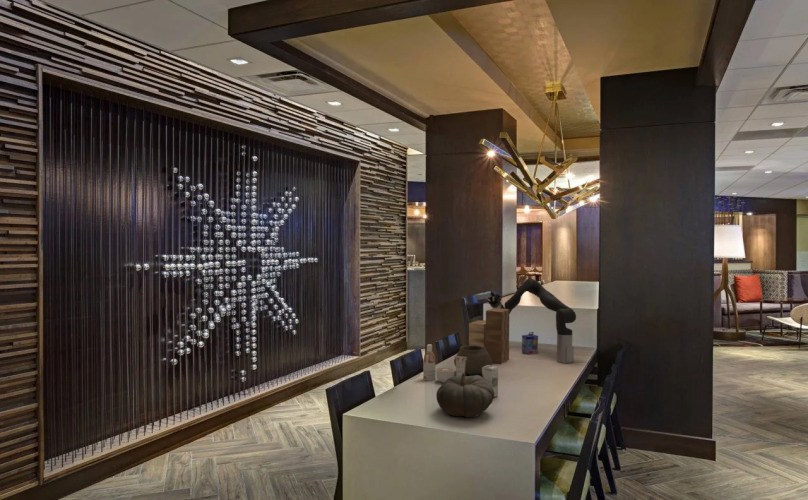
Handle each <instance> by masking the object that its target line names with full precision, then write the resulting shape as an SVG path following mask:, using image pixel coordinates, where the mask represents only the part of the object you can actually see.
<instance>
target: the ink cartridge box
mask: <svg viewBox="0 0 808 500" xmlns="http://www.w3.org/2000/svg"><path fill="white" fill-rule="evenodd" d="M534 333H535V332H534V331H529V332H528V334H523V335H521V337H522V338H521V354H524V355H532V354H533V355H534V354H535V355H536V354H538V353H539V352H538V350H539V335H537V334H534Z"/></svg>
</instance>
